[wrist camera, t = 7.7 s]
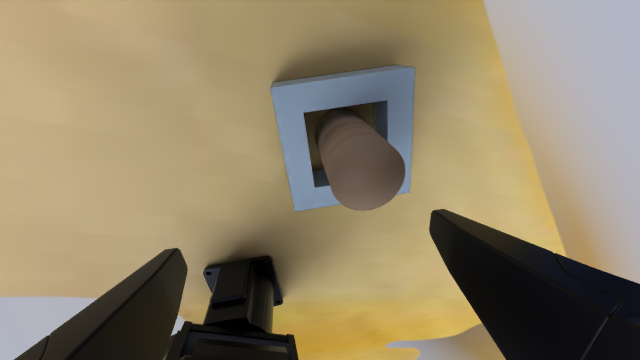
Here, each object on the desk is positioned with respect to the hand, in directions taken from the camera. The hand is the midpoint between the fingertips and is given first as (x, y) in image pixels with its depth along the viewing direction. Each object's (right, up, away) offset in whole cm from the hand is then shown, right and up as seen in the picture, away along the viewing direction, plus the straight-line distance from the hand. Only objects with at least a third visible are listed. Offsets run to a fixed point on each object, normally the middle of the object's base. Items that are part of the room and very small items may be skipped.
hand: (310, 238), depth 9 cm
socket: (+2, +6, +11) cm, 13 cm away
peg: (+2, +6, +11) cm, 13 cm away
